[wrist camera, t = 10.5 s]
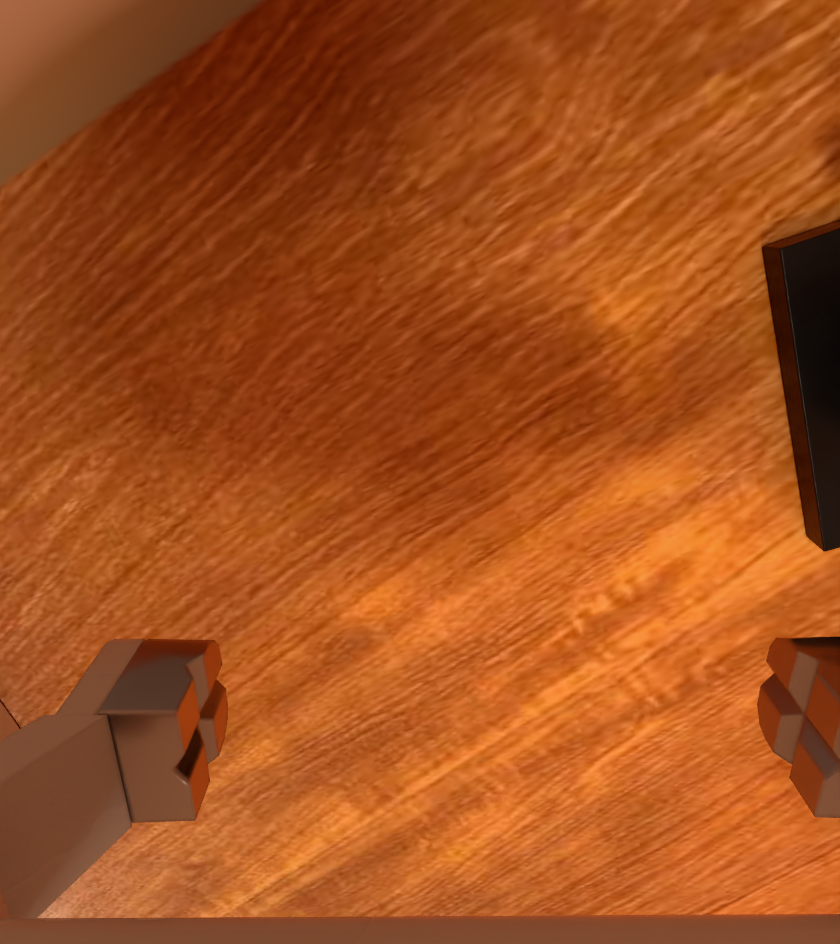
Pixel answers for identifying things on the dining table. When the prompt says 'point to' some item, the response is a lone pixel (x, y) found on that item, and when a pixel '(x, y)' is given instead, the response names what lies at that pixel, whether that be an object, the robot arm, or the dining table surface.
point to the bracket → (811, 367)
